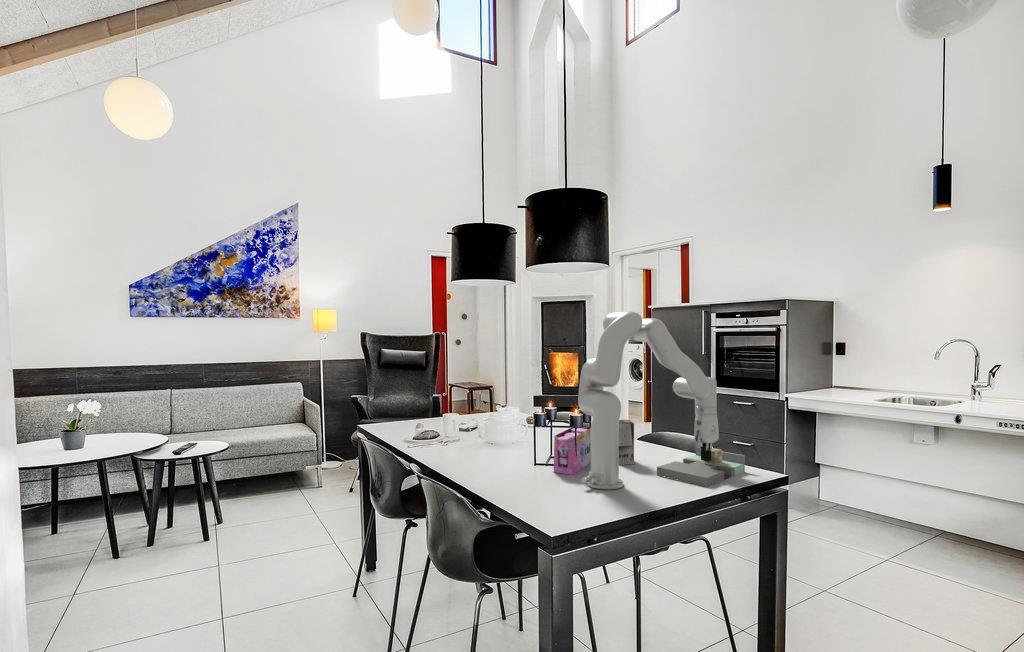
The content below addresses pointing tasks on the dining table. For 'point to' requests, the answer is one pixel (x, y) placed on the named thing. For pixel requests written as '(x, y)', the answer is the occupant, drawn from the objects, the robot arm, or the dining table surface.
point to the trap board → (703, 468)
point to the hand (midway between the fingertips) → (705, 460)
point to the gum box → (571, 450)
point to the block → (715, 456)
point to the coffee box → (626, 442)
